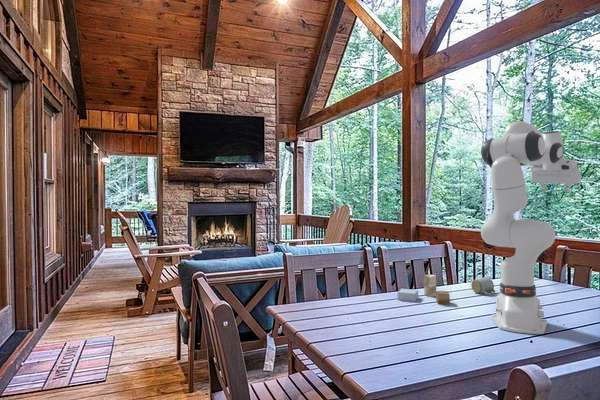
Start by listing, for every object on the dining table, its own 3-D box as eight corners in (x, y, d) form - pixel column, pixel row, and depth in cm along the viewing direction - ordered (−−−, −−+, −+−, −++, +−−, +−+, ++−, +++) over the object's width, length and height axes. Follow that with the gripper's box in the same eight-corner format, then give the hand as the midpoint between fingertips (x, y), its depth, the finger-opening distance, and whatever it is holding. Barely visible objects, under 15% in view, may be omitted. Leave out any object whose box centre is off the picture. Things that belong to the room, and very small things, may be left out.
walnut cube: (449, 304, 169) (449, 293, 169) (438, 304, 170) (437, 293, 170) (447, 301, 174) (447, 291, 174) (436, 301, 175) (436, 290, 175)
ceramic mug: (470, 292, 191) (469, 277, 190) (482, 290, 193) (482, 275, 193) (486, 297, 181) (486, 281, 180) (499, 295, 183) (499, 279, 183)
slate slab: (415, 302, 175) (414, 293, 175) (397, 300, 179) (397, 292, 179) (418, 298, 182) (418, 289, 182) (401, 296, 186) (401, 288, 186)
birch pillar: (436, 295, 185) (435, 275, 185) (431, 297, 183) (430, 276, 183) (429, 294, 188) (429, 274, 189) (424, 295, 186) (423, 275, 186)
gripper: (527, 166, 185) (530, 192, 188) (576, 166, 168) (578, 194, 172) (533, 162, 188) (536, 188, 192) (581, 161, 171) (583, 189, 175)
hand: (556, 191), depth 182 cm, fingers open, 8 cm apart
